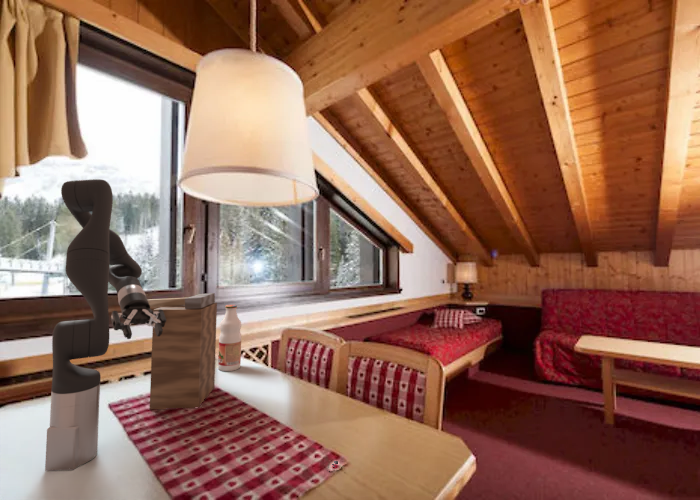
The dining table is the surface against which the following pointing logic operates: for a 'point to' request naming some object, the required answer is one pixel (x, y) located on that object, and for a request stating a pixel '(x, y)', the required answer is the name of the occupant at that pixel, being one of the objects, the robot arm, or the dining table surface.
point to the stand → (183, 357)
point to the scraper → (185, 301)
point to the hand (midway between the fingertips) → (145, 335)
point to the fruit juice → (230, 341)
